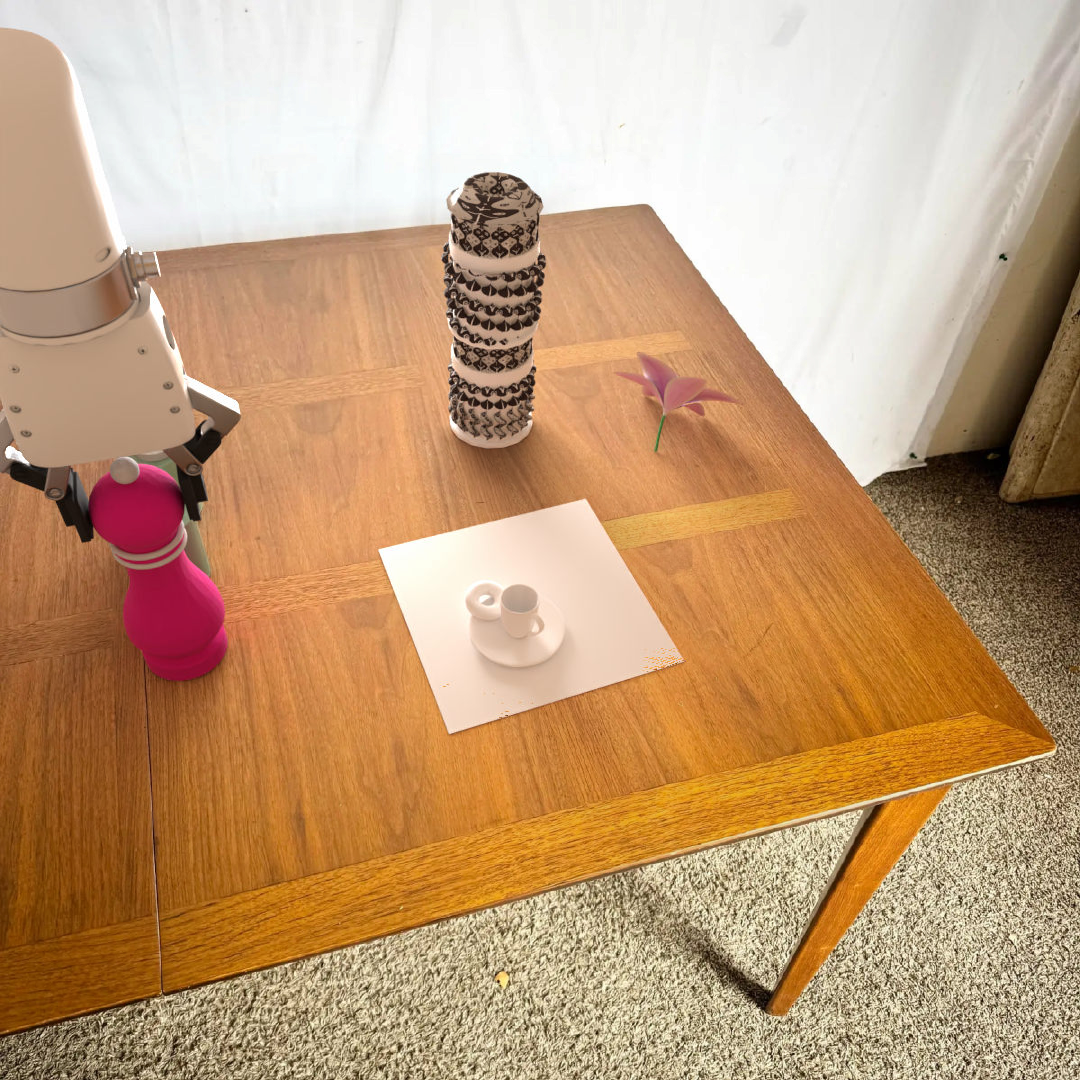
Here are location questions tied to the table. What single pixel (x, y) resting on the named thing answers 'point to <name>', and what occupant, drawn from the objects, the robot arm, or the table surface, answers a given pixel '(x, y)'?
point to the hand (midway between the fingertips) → (141, 515)
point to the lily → (673, 388)
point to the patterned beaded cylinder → (493, 307)
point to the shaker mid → (195, 545)
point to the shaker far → (160, 464)
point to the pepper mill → (159, 571)
